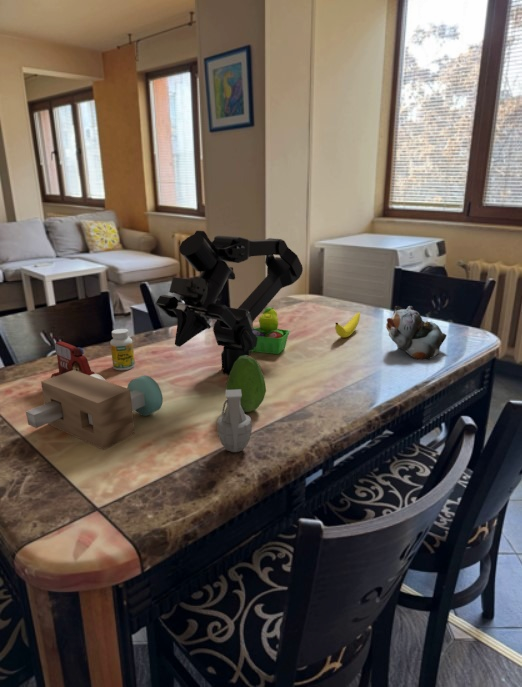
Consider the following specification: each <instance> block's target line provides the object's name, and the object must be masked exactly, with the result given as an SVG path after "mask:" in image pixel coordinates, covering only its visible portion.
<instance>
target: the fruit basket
mask: <svg viewBox="0 0 522 687" xmlns="http://www.w3.org/2000/svg"><path fill="white" fill-rule="evenodd" d="M258 322H259V327H257V326H256V327H255V326H253V333H254V335H255V336H256V337H257V338H258V340H257V345H256V347H254V349H253V350H251V352H256V353H264V354H265V353H266V354H273V355H280V354H281V353H282V352H283V351H284V350H285V349H286V345H287V342H288V338H289V335H290V330H288V329H282V328H281V329H280V328H278V326H279V320H278V313H277V311H276V310H275V309H274V307H270V306H269V307H265V308H264V310H263V311H262V315H260V317H259V318H258Z"/></svg>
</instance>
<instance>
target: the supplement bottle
mask: <svg viewBox="0 0 522 687" xmlns="http://www.w3.org/2000/svg"><path fill="white" fill-rule="evenodd" d="M111 337H112V339H111V340H110V342H109V343H110V352H111V360H112V368H113V369H114V370H116V371H129V370H131V369H133V368H134V367H135V365H136V363H135V362H136V361H135V355H134V344H133V340H132V338H131V337H130V333H129V329H127V328H117V329H114V330H112V331H111Z"/></svg>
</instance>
